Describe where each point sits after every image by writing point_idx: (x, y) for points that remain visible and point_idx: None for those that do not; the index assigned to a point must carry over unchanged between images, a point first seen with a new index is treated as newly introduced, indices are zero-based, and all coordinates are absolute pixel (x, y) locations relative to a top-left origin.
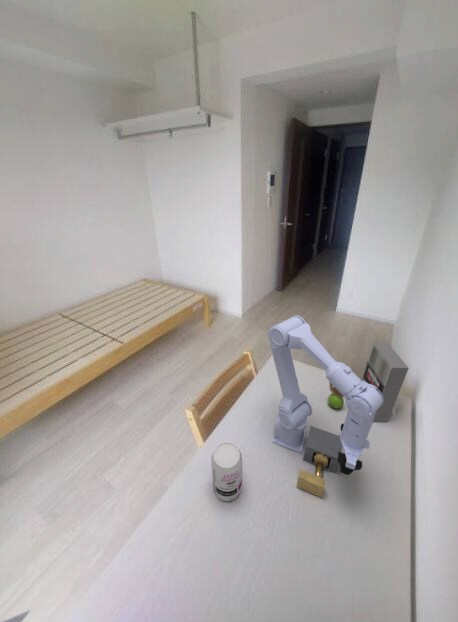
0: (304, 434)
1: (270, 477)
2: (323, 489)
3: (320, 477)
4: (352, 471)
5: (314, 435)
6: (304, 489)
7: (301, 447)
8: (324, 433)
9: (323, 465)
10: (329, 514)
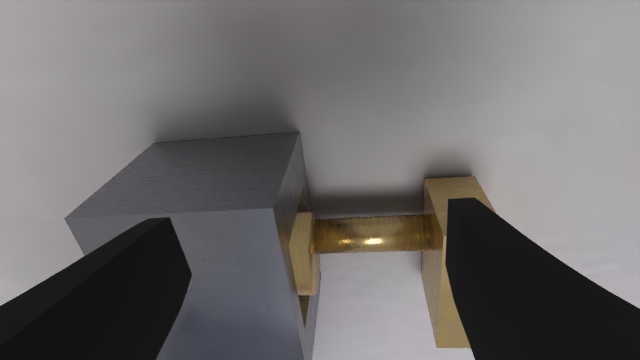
0: None
1: (461, 352)
2: None
3: (443, 262)
4: (571, 273)
5: (202, 357)
6: None
7: None
8: None
9: (314, 221)
10: (544, 123)
